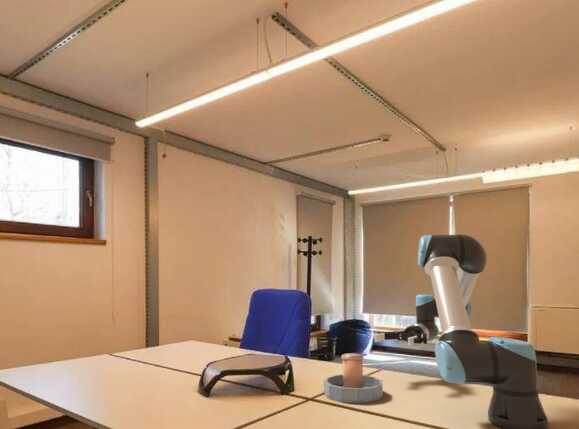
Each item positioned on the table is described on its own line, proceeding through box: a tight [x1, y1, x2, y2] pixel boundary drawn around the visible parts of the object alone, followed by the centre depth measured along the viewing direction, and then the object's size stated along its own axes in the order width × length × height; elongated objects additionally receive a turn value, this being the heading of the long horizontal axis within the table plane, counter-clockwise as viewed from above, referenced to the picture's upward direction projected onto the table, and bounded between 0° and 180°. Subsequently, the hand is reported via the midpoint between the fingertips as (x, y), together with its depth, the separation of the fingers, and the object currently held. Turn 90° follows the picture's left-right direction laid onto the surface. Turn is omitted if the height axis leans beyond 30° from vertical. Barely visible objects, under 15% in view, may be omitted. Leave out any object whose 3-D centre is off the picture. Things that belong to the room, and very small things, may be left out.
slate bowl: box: [323, 373, 384, 404], centre depth 149 cm, size 20×20×4 cm
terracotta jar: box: [341, 352, 364, 388], centre depth 150 cm, size 8×8×12 cm
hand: (391, 340), depth 158 cm, fingers open, 13 cm apart
